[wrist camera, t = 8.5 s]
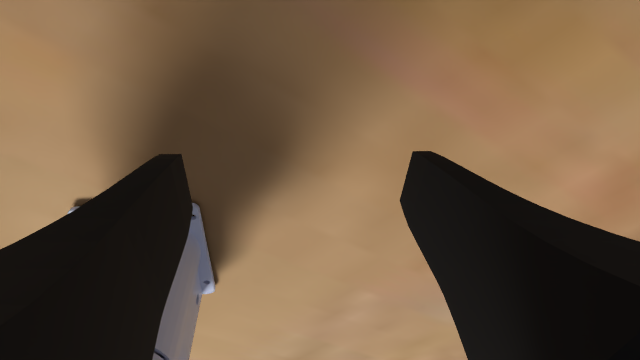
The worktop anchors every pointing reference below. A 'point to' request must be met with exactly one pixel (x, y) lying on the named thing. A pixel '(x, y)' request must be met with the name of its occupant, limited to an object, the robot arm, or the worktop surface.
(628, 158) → the worktop surface
